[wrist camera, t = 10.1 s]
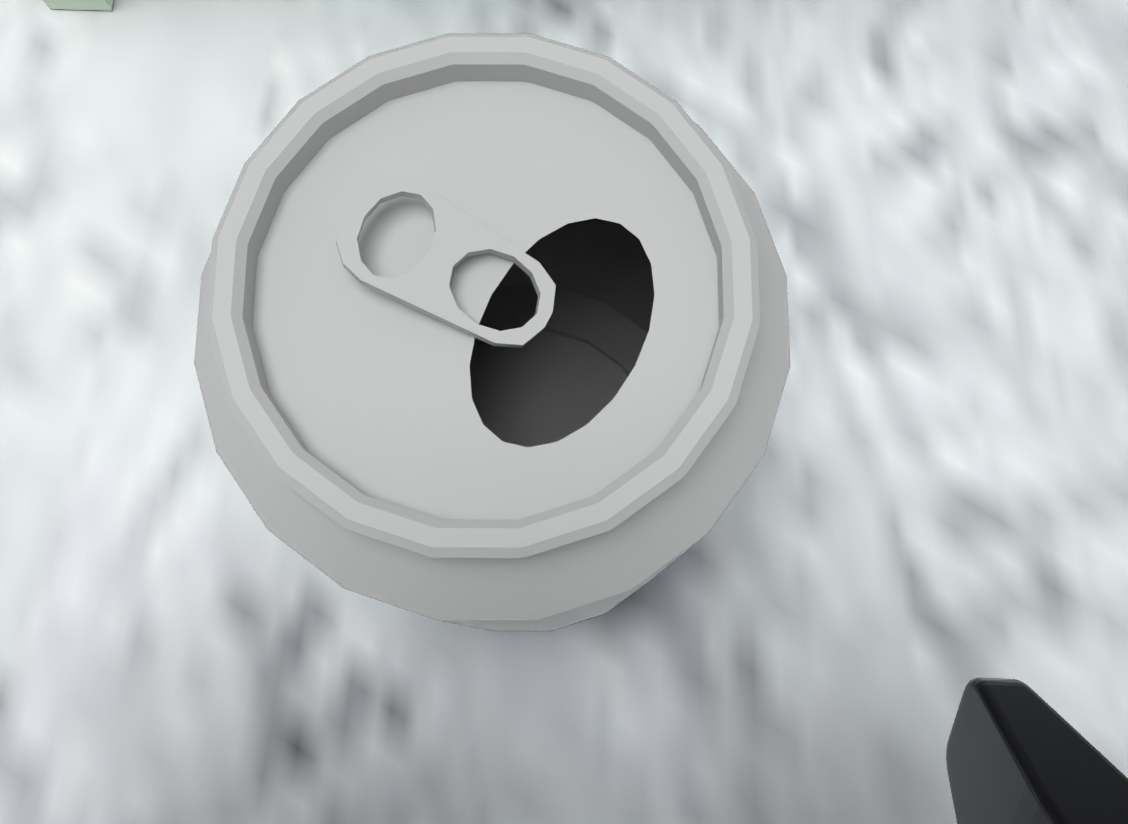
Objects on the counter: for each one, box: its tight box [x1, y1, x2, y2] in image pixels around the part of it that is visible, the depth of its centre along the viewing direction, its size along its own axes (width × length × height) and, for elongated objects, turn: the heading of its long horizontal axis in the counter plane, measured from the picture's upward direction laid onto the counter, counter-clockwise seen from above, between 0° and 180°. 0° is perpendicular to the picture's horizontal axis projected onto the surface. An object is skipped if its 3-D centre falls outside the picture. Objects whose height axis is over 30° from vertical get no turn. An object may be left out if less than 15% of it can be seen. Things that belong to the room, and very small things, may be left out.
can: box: [194, 33, 790, 631], centre depth 17 cm, size 8×8×12 cm
